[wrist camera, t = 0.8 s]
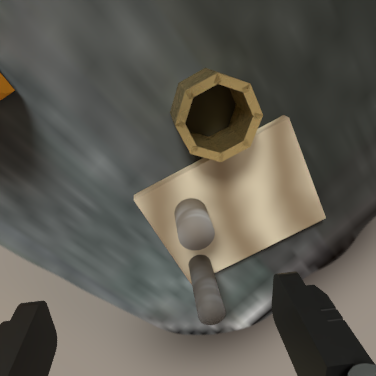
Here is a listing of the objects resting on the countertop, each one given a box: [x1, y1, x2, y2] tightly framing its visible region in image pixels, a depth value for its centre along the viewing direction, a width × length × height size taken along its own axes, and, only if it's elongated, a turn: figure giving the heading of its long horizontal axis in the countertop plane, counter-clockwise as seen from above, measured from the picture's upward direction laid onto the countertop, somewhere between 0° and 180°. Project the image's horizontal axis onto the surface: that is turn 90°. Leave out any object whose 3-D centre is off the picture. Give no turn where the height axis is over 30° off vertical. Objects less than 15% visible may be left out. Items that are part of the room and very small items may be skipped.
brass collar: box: [170, 68, 263, 162], centre depth 26 cm, size 6×6×5 cm
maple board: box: [134, 115, 326, 325], centre depth 29 cm, size 16×12×8 cm
